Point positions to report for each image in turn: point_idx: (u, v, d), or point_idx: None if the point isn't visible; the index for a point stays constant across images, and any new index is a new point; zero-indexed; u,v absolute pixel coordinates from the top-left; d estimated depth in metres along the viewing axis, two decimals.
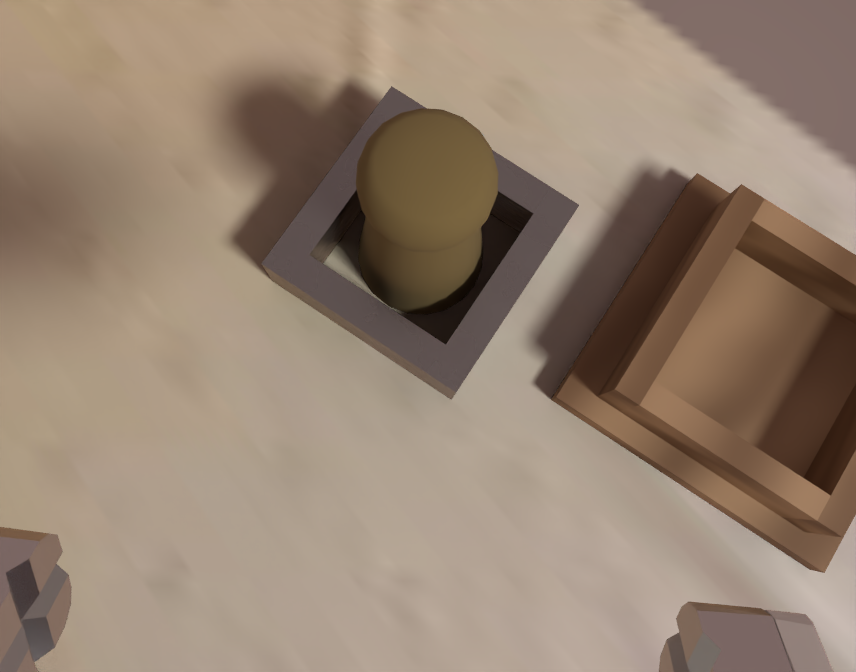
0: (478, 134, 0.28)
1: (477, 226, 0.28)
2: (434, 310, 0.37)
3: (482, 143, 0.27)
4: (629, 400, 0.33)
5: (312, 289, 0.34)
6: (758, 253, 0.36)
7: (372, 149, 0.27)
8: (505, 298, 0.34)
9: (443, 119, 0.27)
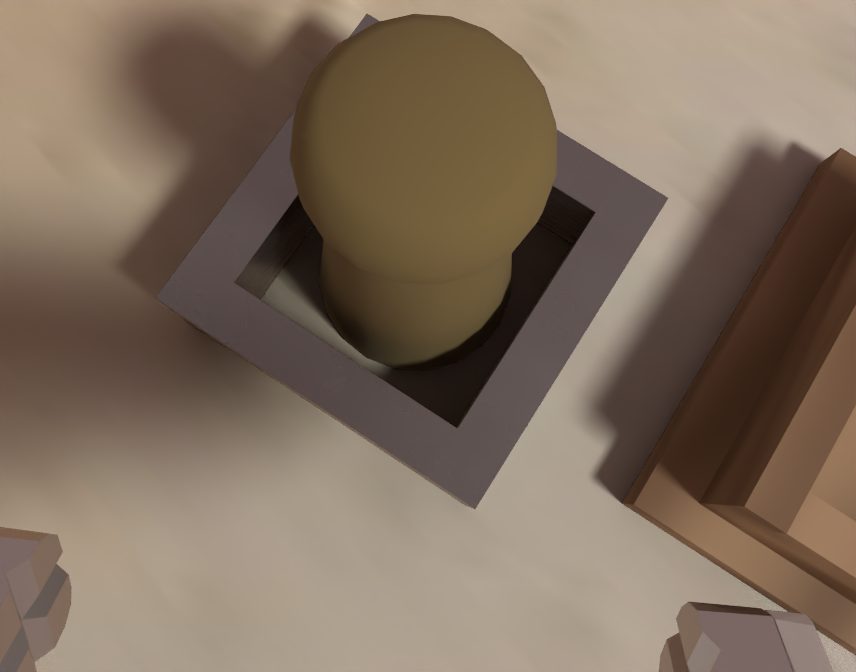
0: (521, 60, 0.14)
1: (520, 236, 0.15)
2: (438, 364, 0.24)
3: (530, 77, 0.14)
4: (767, 524, 0.19)
5: (239, 339, 0.21)
6: None
7: (317, 89, 0.14)
8: (553, 350, 0.21)
9: (455, 31, 0.14)
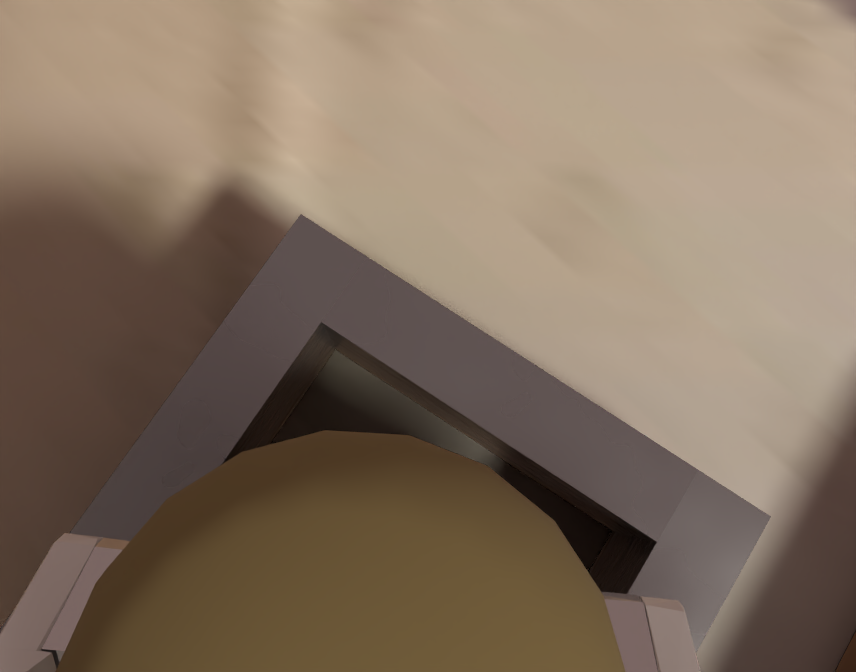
0: (558, 582, 0.06)
1: None
2: None
3: (577, 633, 0.06)
4: None
5: None
6: None
7: None
8: None
9: (406, 535, 0.06)
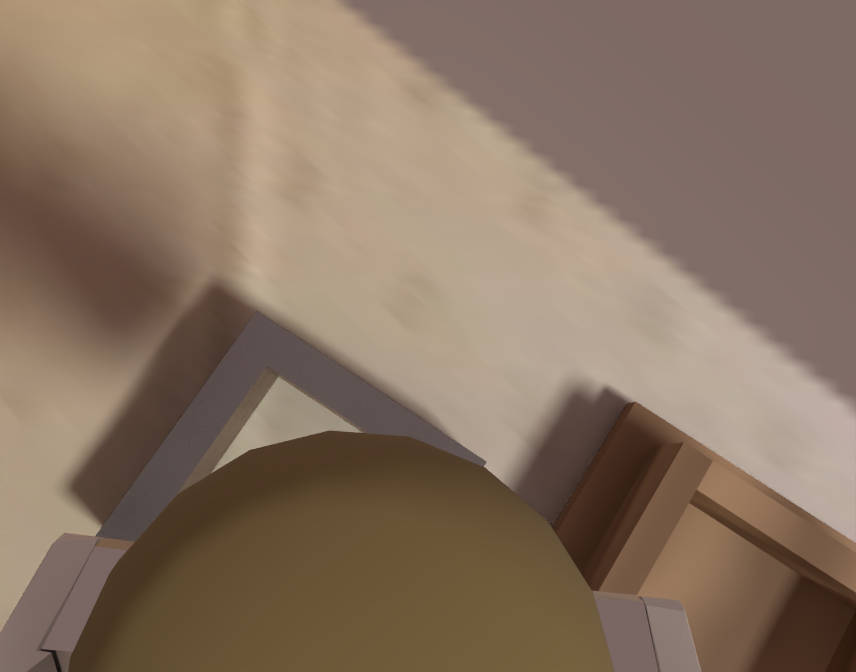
0: (549, 578, 0.07)
1: None
2: None
3: (567, 626, 0.07)
4: None
5: None
6: (708, 510, 0.30)
7: (98, 664, 0.06)
8: None
9: (405, 533, 0.06)
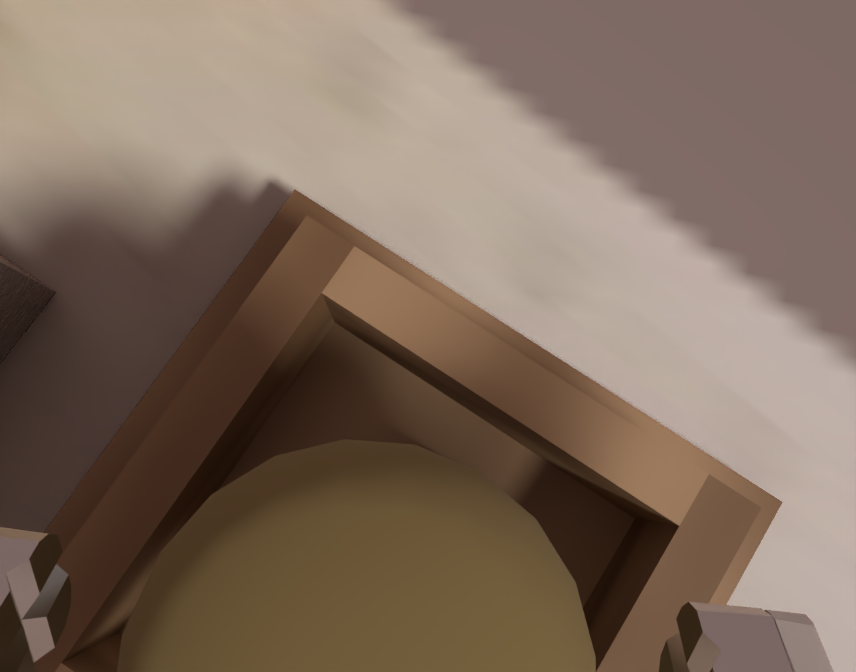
0: (535, 568, 0.08)
1: None
2: None
3: (550, 609, 0.08)
4: None
5: None
6: (384, 350, 0.18)
7: (149, 639, 0.07)
8: None
9: (412, 527, 0.08)
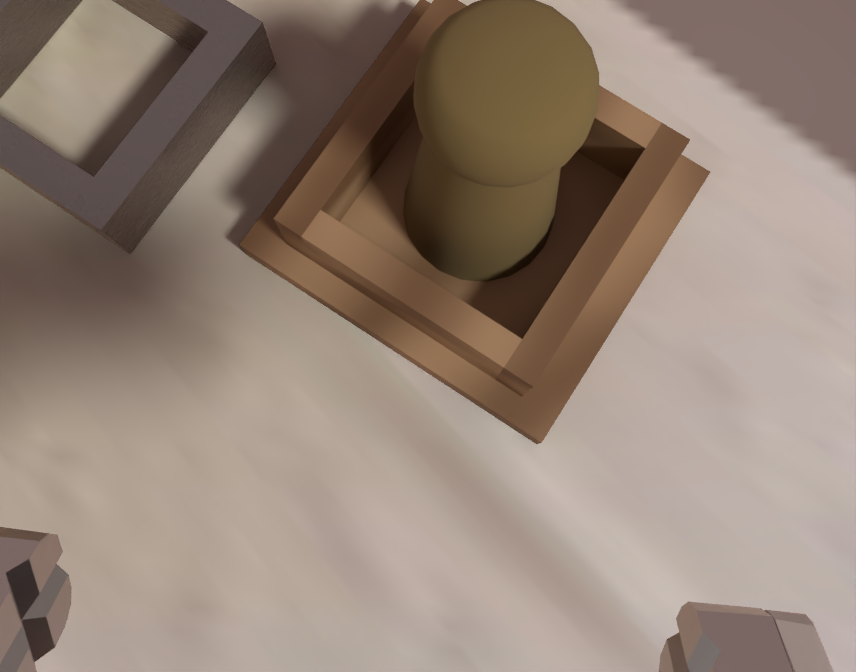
0: (576, 28, 0.21)
1: (572, 150, 0.21)
2: (495, 276, 0.30)
3: (582, 39, 0.21)
4: (293, 233, 0.28)
5: None
6: None
7: (437, 45, 0.21)
8: (167, 124, 0.29)
9: (531, 7, 0.21)
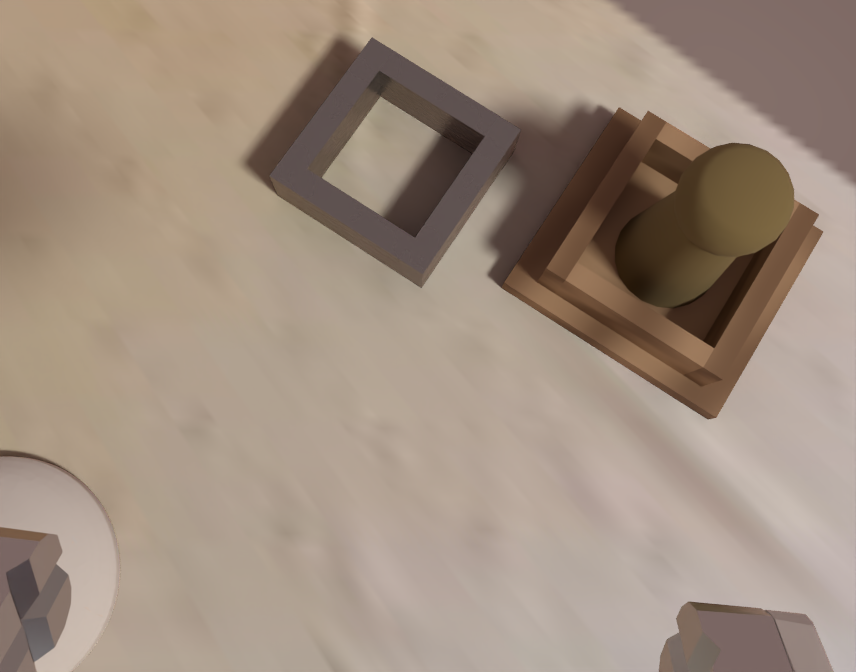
0: (781, 164, 0.35)
1: (777, 236, 0.35)
2: (681, 305, 0.44)
3: (786, 171, 0.35)
4: (558, 277, 0.42)
5: (309, 195, 0.43)
6: (665, 168, 0.45)
7: (701, 175, 0.35)
8: (462, 201, 0.43)
9: (756, 152, 0.35)
